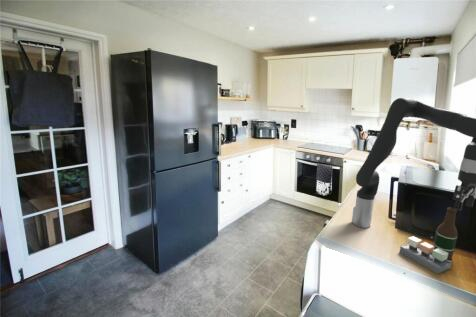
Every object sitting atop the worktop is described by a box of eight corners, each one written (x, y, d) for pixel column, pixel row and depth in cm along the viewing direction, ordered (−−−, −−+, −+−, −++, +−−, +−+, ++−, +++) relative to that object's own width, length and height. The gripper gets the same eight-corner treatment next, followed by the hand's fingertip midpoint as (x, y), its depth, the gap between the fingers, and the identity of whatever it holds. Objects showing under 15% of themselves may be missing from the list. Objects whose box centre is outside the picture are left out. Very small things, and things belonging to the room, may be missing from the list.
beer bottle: (443, 249, 127) (453, 204, 122) (456, 259, 120) (468, 212, 114) (427, 249, 127) (437, 204, 121) (440, 259, 119) (451, 212, 114)
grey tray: (399, 252, 125) (401, 242, 124) (411, 247, 128) (412, 238, 127) (438, 273, 110) (440, 263, 109) (450, 268, 113) (452, 258, 112)
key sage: (431, 256, 114) (433, 250, 114) (437, 254, 116) (438, 248, 115) (441, 261, 111) (443, 255, 110) (447, 259, 112) (448, 253, 112)
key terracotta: (418, 249, 119) (420, 243, 118) (424, 247, 121) (425, 241, 120) (428, 254, 116) (429, 248, 115) (433, 252, 117) (434, 246, 117)
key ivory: (407, 243, 124) (408, 237, 123) (412, 241, 126) (413, 236, 125) (415, 247, 120) (416, 242, 120) (420, 246, 122) (422, 240, 121)
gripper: (470, 166, 108) (461, 202, 111) (451, 169, 102) (442, 207, 106) (493, 170, 101) (483, 208, 105) (474, 174, 95) (464, 215, 99)
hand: (463, 208), depth 105 cm, fingers open, 8 cm apart
